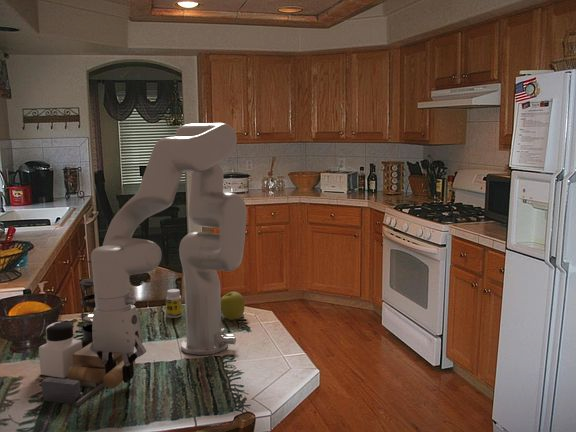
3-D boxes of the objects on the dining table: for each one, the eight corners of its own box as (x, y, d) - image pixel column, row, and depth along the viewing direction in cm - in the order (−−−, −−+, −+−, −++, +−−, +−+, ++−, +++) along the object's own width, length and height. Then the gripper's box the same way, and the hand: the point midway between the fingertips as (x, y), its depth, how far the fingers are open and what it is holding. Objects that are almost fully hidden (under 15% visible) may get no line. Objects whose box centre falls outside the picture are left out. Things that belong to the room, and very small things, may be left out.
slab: (128, 349, 140) (127, 340, 140) (103, 367, 130) (102, 357, 129) (99, 347, 142) (99, 337, 142) (73, 364, 132) (72, 354, 131)
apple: (250, 311, 180) (246, 284, 176) (240, 325, 173) (235, 298, 169) (228, 308, 182) (223, 282, 178) (217, 323, 176) (212, 296, 172)
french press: (115, 343, 155) (110, 262, 152) (79, 346, 153) (74, 264, 150) (119, 329, 166) (115, 254, 163) (86, 331, 165) (82, 255, 162)
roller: (123, 372, 130) (121, 357, 130) (136, 372, 129) (134, 358, 129) (103, 388, 123) (102, 373, 122) (118, 389, 122) (116, 374, 121)
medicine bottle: (84, 367, 139) (81, 320, 138) (64, 378, 133) (60, 330, 131) (60, 363, 142) (57, 318, 140) (40, 375, 135) (36, 327, 133)
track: (135, 362, 142) (134, 349, 141) (77, 406, 119) (76, 390, 118) (100, 359, 144) (99, 346, 144) (37, 401, 121) (36, 385, 121)
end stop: (80, 400, 121) (79, 380, 121) (75, 404, 120) (74, 384, 119) (49, 396, 123) (47, 377, 123) (43, 400, 121) (41, 381, 121)
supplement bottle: (164, 317, 177) (163, 292, 176) (170, 313, 182) (168, 288, 181) (178, 318, 176) (177, 292, 175) (184, 313, 181) (183, 288, 180)
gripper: (155, 298, 124) (161, 375, 128) (90, 294, 128) (97, 369, 132) (138, 309, 117) (145, 390, 120) (70, 305, 121) (78, 383, 124)
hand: (120, 378), depth 126 cm, fingers closed on roller, 3 cm apart
